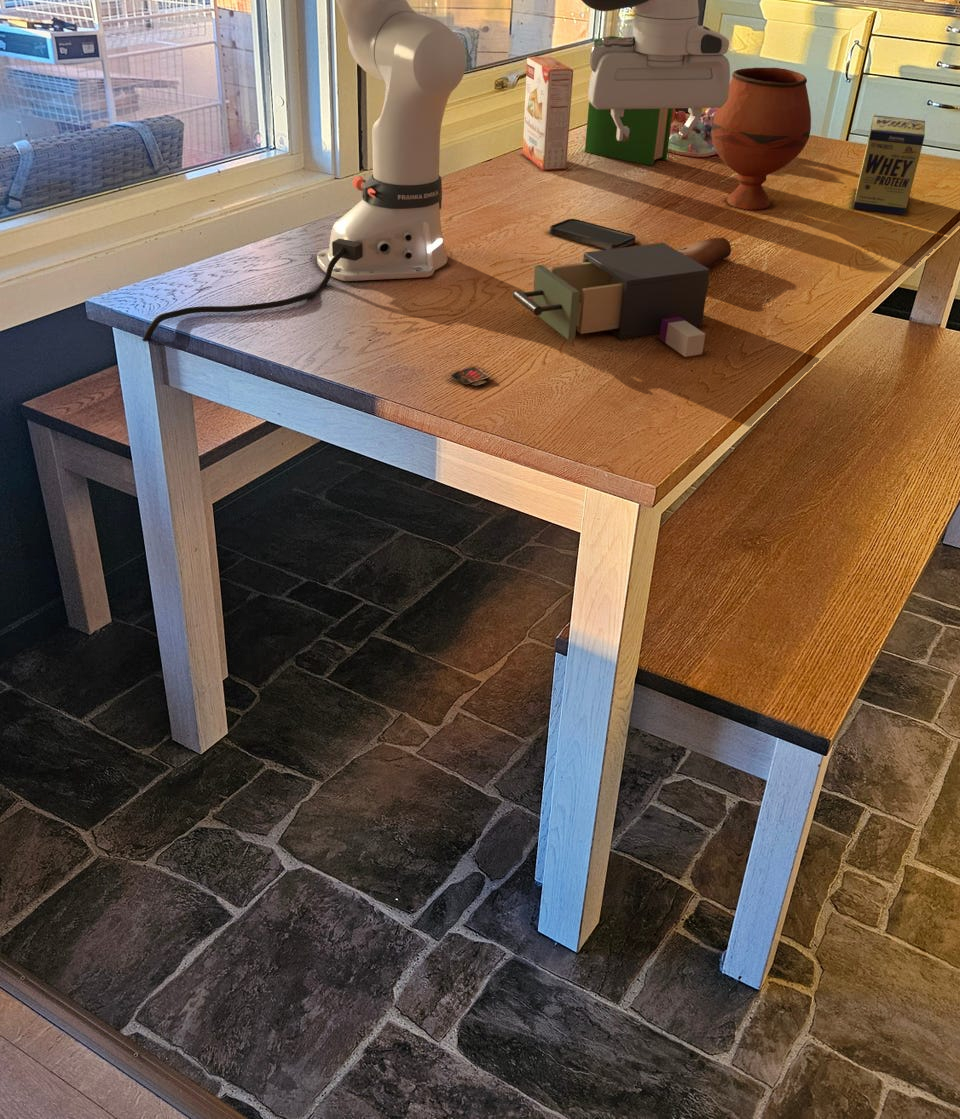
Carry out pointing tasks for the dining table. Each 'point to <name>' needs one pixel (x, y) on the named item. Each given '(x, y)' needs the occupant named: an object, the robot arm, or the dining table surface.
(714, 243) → the sunglasses case
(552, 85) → the cracker box
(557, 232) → the phone
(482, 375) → the matchbox
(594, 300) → the drawer
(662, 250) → the black storage box
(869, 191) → the protein box
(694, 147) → the candy landscape model
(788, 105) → the goblet
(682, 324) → the beige rectangular block
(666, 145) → the hardback book
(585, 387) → the dining table surface
